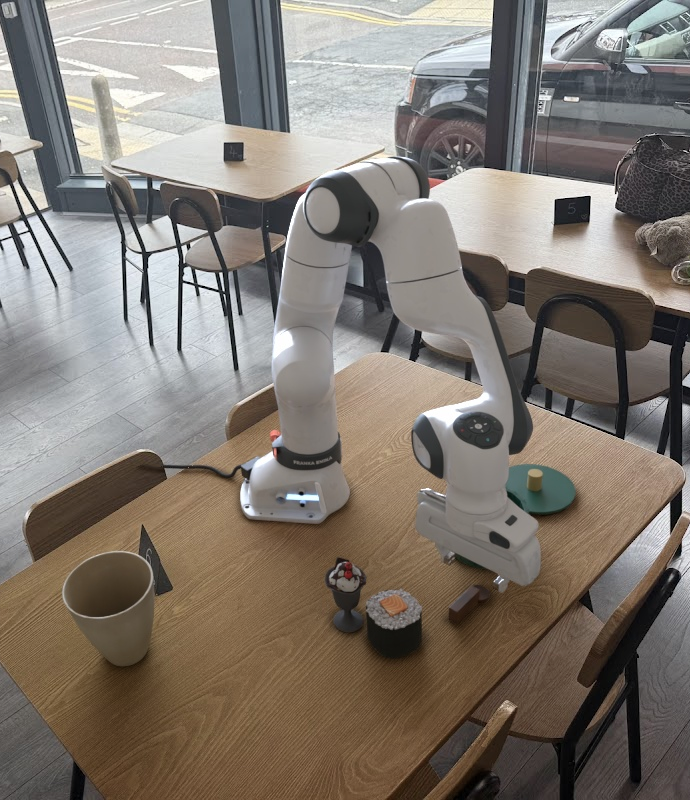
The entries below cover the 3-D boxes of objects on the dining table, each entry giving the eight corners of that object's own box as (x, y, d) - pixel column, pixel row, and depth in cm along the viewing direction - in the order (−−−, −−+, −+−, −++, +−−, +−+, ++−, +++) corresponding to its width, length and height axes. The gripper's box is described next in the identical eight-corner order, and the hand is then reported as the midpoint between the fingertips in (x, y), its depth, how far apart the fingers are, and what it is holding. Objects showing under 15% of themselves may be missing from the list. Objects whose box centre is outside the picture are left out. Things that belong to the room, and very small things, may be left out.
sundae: (359, 642, 129) (356, 576, 121) (322, 628, 132) (316, 564, 124) (374, 613, 133) (372, 548, 125) (337, 601, 137) (333, 537, 129)
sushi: (358, 631, 131) (356, 597, 127) (401, 612, 133) (401, 578, 129) (386, 666, 124) (385, 632, 120) (430, 645, 126) (431, 611, 122)
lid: (504, 519, 148) (505, 500, 145) (485, 471, 160) (486, 452, 157) (585, 514, 146) (589, 494, 143) (561, 466, 158) (563, 447, 155)
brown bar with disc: (461, 627, 128) (462, 615, 127) (443, 617, 131) (443, 604, 129) (493, 595, 133) (494, 583, 131) (475, 585, 135) (476, 573, 134)
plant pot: (178, 618, 139) (163, 552, 130) (156, 689, 127) (137, 622, 118) (100, 612, 143) (80, 548, 134) (71, 680, 131) (47, 614, 122)
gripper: (406, 494, 126) (407, 557, 133) (526, 550, 112) (521, 617, 119) (429, 474, 129) (429, 537, 136) (549, 526, 115) (542, 593, 122)
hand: (473, 574), depth 128 cm, fingers open, 8 cm apart
